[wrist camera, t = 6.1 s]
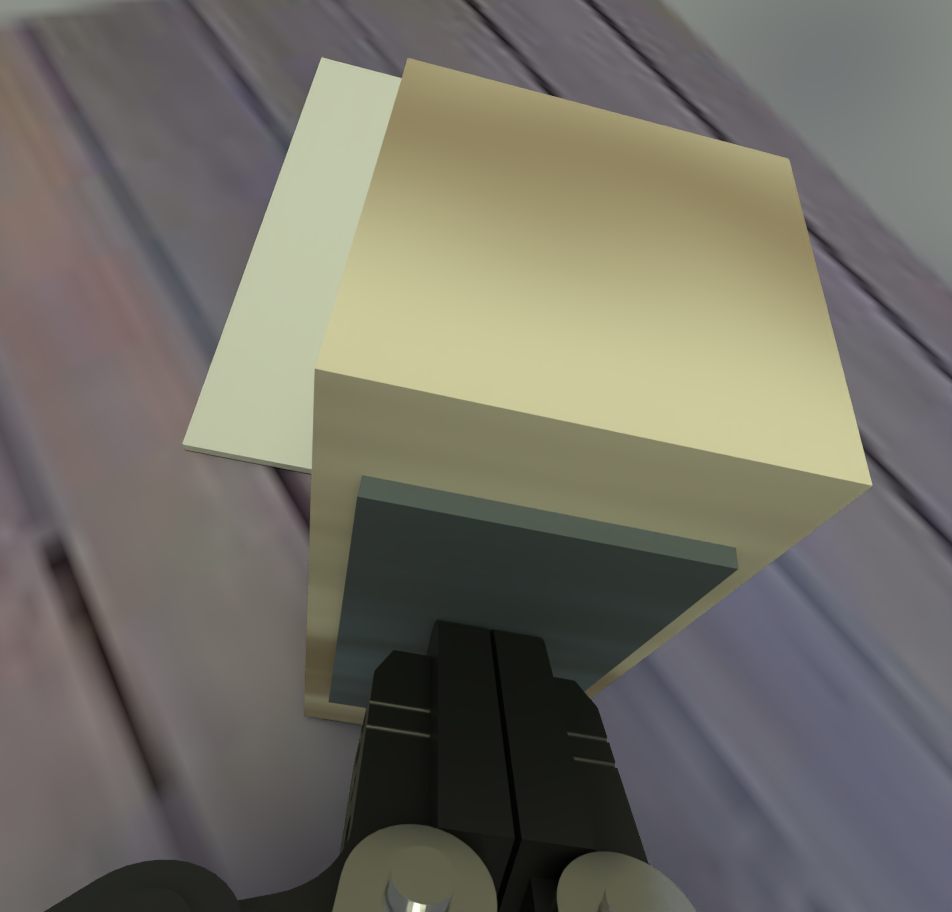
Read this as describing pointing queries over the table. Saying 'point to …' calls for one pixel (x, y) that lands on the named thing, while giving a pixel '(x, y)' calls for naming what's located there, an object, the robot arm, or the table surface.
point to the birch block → (562, 387)
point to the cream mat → (294, 277)
